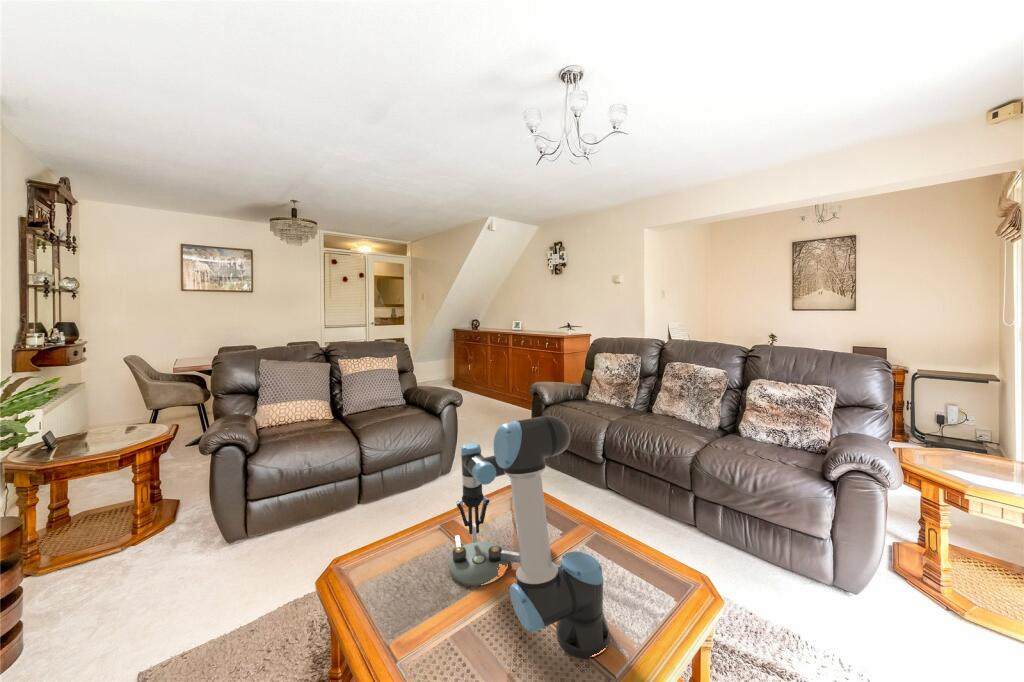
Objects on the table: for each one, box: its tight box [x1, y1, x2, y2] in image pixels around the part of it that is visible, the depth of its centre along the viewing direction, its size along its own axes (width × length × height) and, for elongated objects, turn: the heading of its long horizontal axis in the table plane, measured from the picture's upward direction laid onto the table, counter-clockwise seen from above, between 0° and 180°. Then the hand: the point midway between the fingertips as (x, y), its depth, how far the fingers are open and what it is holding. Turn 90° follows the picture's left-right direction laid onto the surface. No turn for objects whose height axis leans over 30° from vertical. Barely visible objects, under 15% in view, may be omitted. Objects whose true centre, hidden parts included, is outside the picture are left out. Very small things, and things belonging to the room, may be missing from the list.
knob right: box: [488, 546, 520, 564], centre depth 143 cm, size 12×5×4 cm, turn 74°
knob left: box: [452, 534, 466, 563], centre depth 148 cm, size 12×5×4 cm, turn 13°
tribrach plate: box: [448, 540, 510, 587], centre depth 144 cm, size 22×22×2 cm
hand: (474, 540), depth 152 cm, fingers closed
